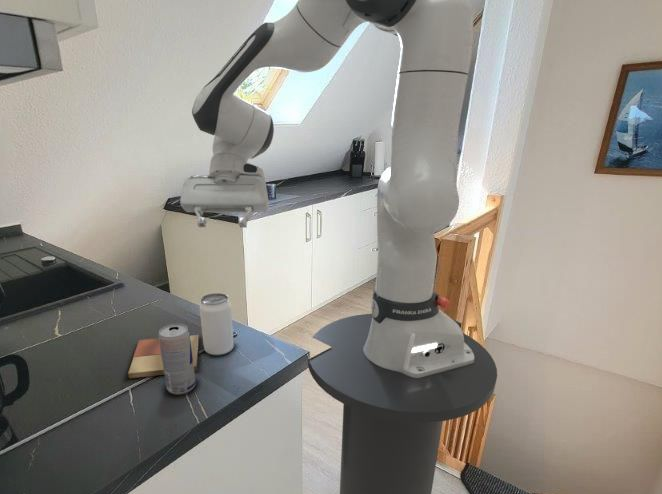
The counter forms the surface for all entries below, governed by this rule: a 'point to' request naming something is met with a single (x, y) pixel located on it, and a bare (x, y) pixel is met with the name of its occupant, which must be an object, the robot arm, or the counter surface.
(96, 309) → the counter surface
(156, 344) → the square wooden board
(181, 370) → the energy drink
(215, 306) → the can
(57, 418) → the counter surface
